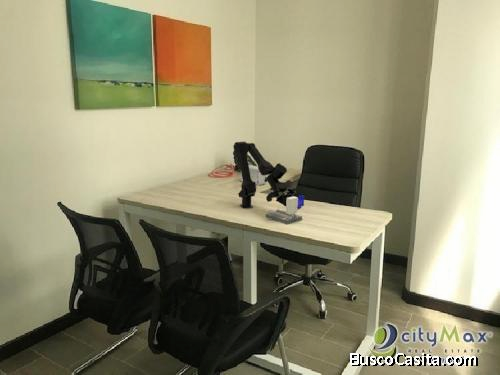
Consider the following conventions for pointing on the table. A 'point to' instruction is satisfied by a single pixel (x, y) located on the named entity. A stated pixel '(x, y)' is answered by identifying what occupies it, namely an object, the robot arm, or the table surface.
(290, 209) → the fader handle
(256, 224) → the table surface
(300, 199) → the cable clip
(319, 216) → the table surface
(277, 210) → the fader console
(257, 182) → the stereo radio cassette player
